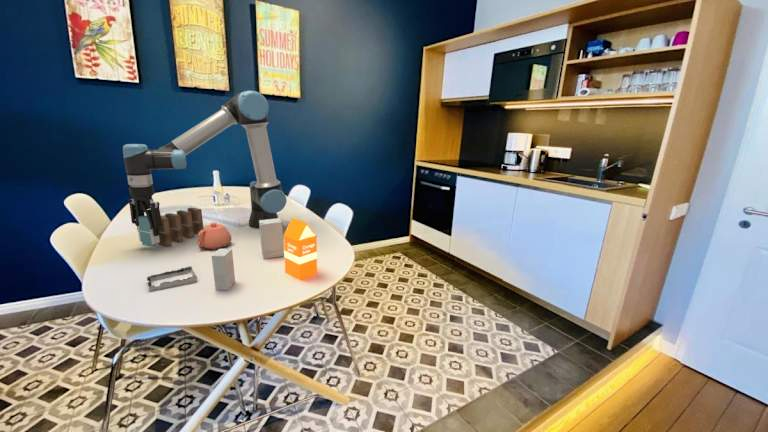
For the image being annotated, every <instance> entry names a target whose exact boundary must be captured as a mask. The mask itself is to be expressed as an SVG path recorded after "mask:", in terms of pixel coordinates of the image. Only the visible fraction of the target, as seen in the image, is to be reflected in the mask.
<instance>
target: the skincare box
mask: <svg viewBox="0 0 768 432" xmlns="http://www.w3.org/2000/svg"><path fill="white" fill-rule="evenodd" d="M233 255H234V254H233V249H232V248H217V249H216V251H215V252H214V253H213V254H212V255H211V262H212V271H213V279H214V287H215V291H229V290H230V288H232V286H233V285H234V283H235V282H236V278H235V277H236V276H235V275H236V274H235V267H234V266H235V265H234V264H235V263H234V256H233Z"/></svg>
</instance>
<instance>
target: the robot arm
mask: <svg viewBox="0 0 768 432" xmlns="http://www.w3.org/2000/svg"><path fill="white" fill-rule="evenodd" d="M269 107H270V106H269V103H268V100H267V98H266V97H265V96H264V95H263V94H262V93H260V92H258V91H256V90H244V91H240V92H239V93H236V94H235V95H234V96H233V97H232V98H231V99H230V100H228V101H227V102H226V103H224V104H223V105H221V109H220V110H218V111H216V112H215V113H213V114H212V115H210V116H209V117H207V118H206V119H204V120H202V121H201V122H199V123H198V124H196V125H195V126H193V127H191V128H190V129H188V130H187V131H185V132H183V134H181V135H179V136H177V137H175V138H174V139H173V140H171V141H170V142H168V143H167V144H165V145H163V146H160V147H158V149H149V147H148V145H146V144H143V143H127V144H124V145H123V146H122V154H123V162H124V167H125V173H126V177H127V184H128V185H129V187H128V190H129V195H130V196H131V197H133V198H130V199H127V202H128V204H129V211H130V219H131V224H132V225H133V224H134V225H135V226H136V230H137V233H138V239H139V242H140V243H142V239H141V233H140V227H139V221H138V217H139V216H143V215H145V216H147V218H148V221H149V223H150V226H151V228H149V229H150V234H151V241H152V244H153V245H154V244H157V243H160V239H159V229H158V228H159V227H161V226H162V220H161V215H160V210H159V208H160V202H159V201H154V199H153V197H152V196H153V195H154V194H155V190H154V186H153V184H154V182H153V176H152V170H180V169H183V170H184V169H186V168H187V157H186V156H187V155H189V154H190V153H192V152H193V151H195V150H196V149H198V148H200V147H201V146H202V145H204V144H205V143H207V142H208V141H210V140H211V139H213V138H214V137H216V136H217V135H219V134H220V133H222V132H224V131H225V130H226V129H228V128H229V127H231V126H233V125H238V124H240V126H242V127H243V128H244V129H245V132H246V138H247V142H248V147H249V151H250V155H251V159H252V163H253V164H252V165H253V169H254V173H255V178H256V180H255V181H250V183H249V192H250V205H251V208H250V209H251V212H250V214H249V215H250V216H249V220H248V226H249V227H250V228H252V229H259V230H260V227H259V220H267V219H276V218H279V215H278V213H280V212H281V211H282V210H283V209H284V208H285V207H286V205H287V201H288V200H287V195H286V194H285V192H284V191H283V189H282V184H281V183H282V182H281V181H280V180H278V179H277V175H276V170H275V165H274V161H273V154H272V150H271V144H270V140H269V136H268V129H267V126H268V124H269V123H270V121H269V117H268V113H269Z"/></svg>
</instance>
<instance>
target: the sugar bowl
mask: <svg viewBox="0 0 768 432" xmlns="http://www.w3.org/2000/svg"><path fill="white" fill-rule="evenodd" d="M197 238H198V242H197V246H198V247H200V248H201V247H202V248H204V249H212V250H218V249H221V248H223V247H226V246H227V245H228V244H230V243H231V241H232V236H231V234H230V231H229V230H228V229H227V227H226V226H224V225H223V224H220V223H217V222H211V223H209V224H208V225H205V226H203V230H201V231H200V232H199V233H198V235H197Z"/></svg>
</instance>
